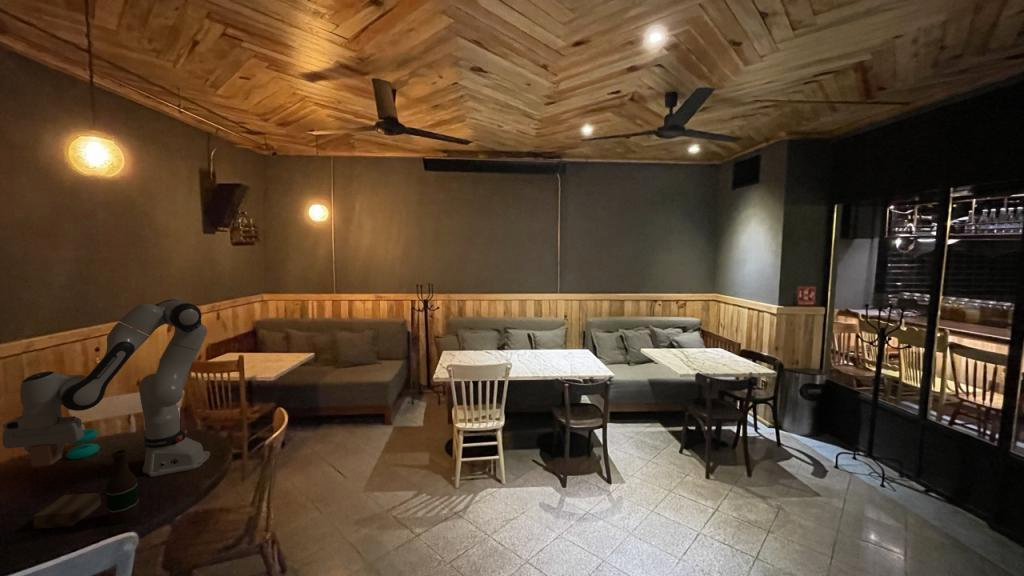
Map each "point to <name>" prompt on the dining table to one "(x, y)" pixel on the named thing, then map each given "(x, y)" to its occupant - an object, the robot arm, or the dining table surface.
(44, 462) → the terracotta block
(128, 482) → the beer bottle
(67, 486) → the dining table surface
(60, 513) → the walnut block
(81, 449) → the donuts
